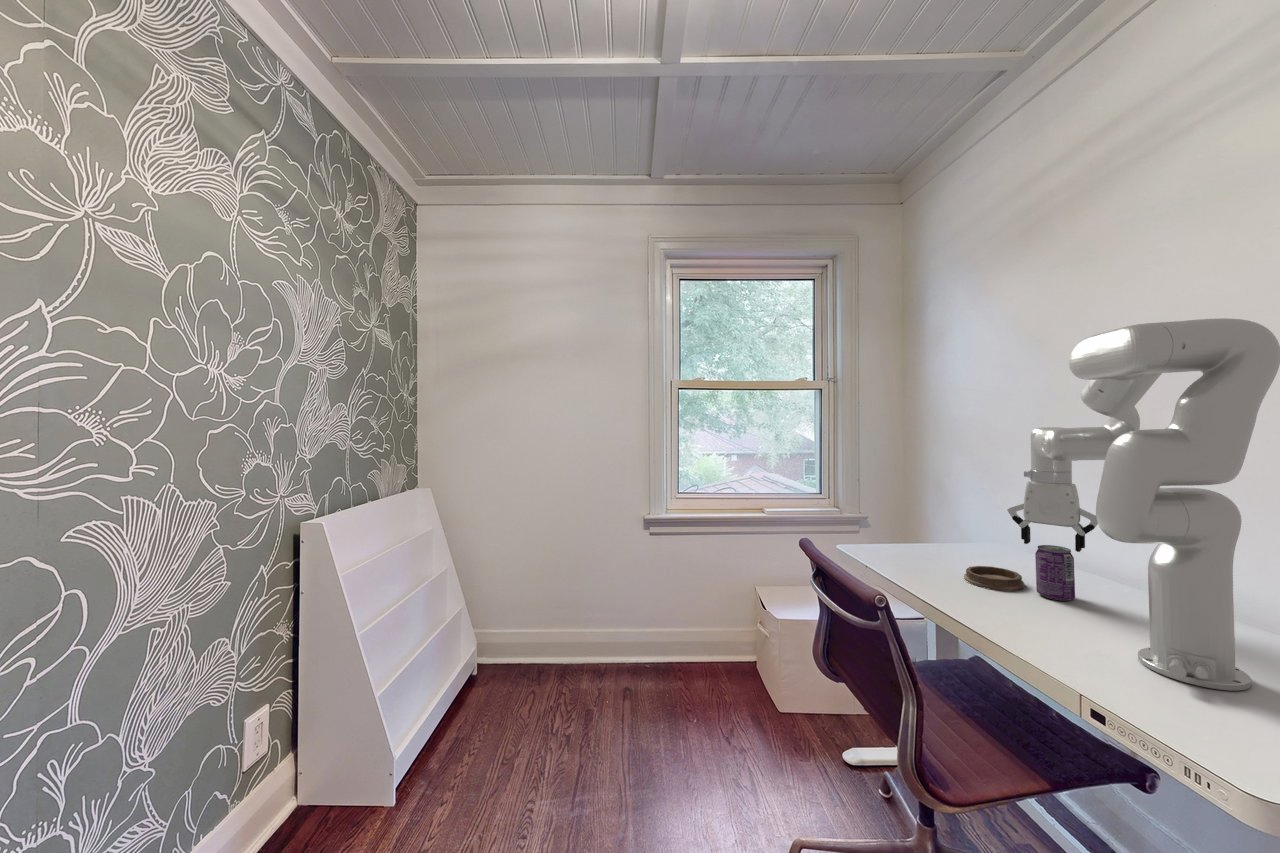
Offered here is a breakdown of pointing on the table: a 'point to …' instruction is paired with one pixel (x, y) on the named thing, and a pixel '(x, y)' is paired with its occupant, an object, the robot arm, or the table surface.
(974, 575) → the walnut coaster
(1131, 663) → the table surface
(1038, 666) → the table surface
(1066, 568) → the beverage can
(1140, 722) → the table surface
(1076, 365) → the robot arm
